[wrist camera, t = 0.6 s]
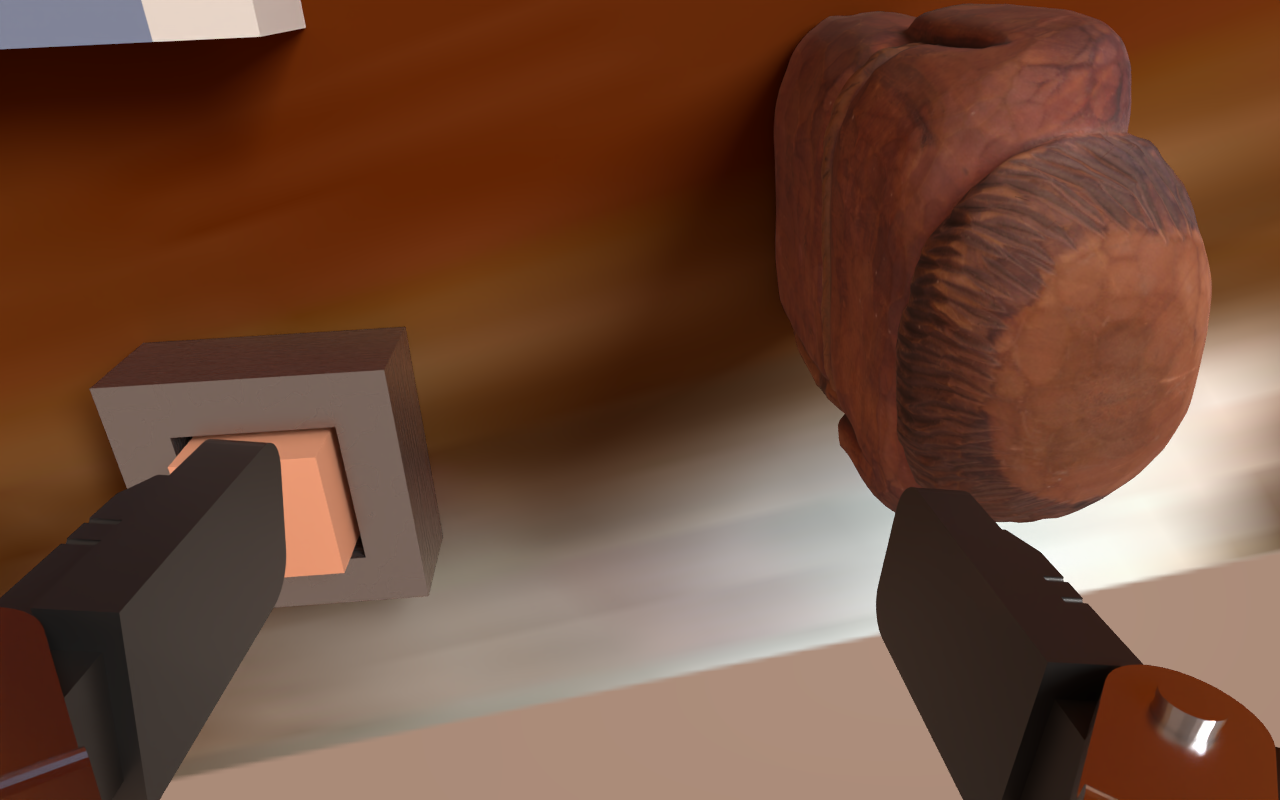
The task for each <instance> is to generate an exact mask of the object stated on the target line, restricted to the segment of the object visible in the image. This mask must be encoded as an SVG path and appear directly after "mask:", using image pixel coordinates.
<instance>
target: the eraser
mask: <svg viewBox="0 0 1280 800" xmlns="http://www.w3.org/2000/svg"><path fill="white" fill-rule="evenodd" d="M302 28H306V26H305V21H304V16H303V11H302V6H301V1H300V0H0V49H17V48H38V47H59V46H79V45H100V44H121V43H141V42H162V41H183V40H203V39H224V38H245V37H262V36H267V35H272V34H277V33H282V32H287V31H292V30H297V29H302Z"/></svg>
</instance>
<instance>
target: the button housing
mask: <svg viewBox="0 0 1280 800" xmlns="http://www.w3.org/2000/svg"><path fill="white" fill-rule="evenodd" d="M90 391H91V394H92V396H93V399H94V402H95V404H96V407H97V410H98V412H99V415H100V418H101V420H102V423H103V426H104V428H105V431H106V434H107V436H108V439H109V442H110V444H111V447H112V450H113V452H114V455H115V458H116V460H117V463H118V466H119V468H120V471H121V474H122V476H123V479H124V482H125V484H126V487H127V489H128V488H130V487H132V486H134V485H136V484H139V483H141V482H143V481H145V480H147V479H149V478H151V477H153V476H156V475H170V472H169V469H168V466H169V465H170V464H171V463H172V462H173V460H174V459H175V458H176V457H177V456H178V454H179V453H180V452H181V451H182V450H183V448H184V447H185V446H186V445H187V444H188V442H189V441H190V440H191V439H192V438H193V436H206V435H221V434H237V433H252V432H267V431H282V430H297V429H312V428H327V427H336V432H337V436H338V440H339V445H340V449H341V453H342V458H343V462H344V466H345V470H346V475H347V479H348V483H349V488H350V492H351V496H352V500H353V505H354V509H355V513H356V518H357V522H358V526H359V531H360V535H359V537H358V540H357V542H356V545H355V547H354V550H353V553H352V555H351V558H350V560H349V563H348V565H347V568H346V570H345V573H338V574H324V575H311V576H297V577H284V581H283V585H282V589H281V592H280V595H279V598H278V600H277V602H276V604H275V606H274V608H275V607H288V606H302V605H315V604H329V603H342V602H356V601H369V600H383V599H396V598H410V597H423V596H429V592H430V588H431V584H432V580H433V576H434V571H435V567H436V563H437V559H438V555H439V551H440V547H441V542H442V538H443V535H442V529H441V524H440V518H439V513H438V507H437V501H436V496H435V490H434V485H433V479H432V473H431V468H430V462H429V457H428V451H427V446H426V440H425V434H424V429H423V423H422V418H421V412H420V406H419V401H418V395H417V390H416V384H415V379H414V373H413V367H412V362H411V356H410V351H409V345H408V339H407V334H406V328H405V327H397V328H381V329H364V330H348V331H332V332H316V333H300V334H283V335H267V336H251V337H235V338H218V339H202V340H186V341H170V342H153V343H143V344H142V345H140V346H139V347H138V348H137V349H136V350H135V351H133V352H132V353H131V354H130V355H129V356H128V357H126V358H125V359H124V360H123V361H122V362H120V363H119V364H118V365H117V366H116V367H115V368H113V369H112V370H111V371H110V372H109V373H107V374H106V375H105V376H104V377H103V378H102V379H100V380H99V381H98V382H97V383H96V384H95V385H93V386H92V387H91V388H90Z"/></svg>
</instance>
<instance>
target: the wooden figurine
mask: <svg viewBox="0 0 1280 800" xmlns="http://www.w3.org/2000/svg"><path fill="white" fill-rule="evenodd" d="M1130 112H1131V66H1130V61H1129V57H1128V54H1127V51H1126V48H1125V45H1124V43H1123V41H1122V40H1121V38H1120V37H1119V36H1118V35H1117V34H1116V33H1115V32H1114V30H1113V29H1111V28H1110V27H1109V26H1108V25H1107V24H1105V23H1104V22H1102V21H1100V20H1098V19H1095V18H1092V17H1089V16H1086V15H1083V14H1080V13H1076V12H1074V11H1070V10H1064V9H1052V8H1043V7H1030V6H1020V5H1012V4H961V5H955V6H949V7H945V8H941V9H937V10H934V11H930V12H926V13H924V14H922V15H920V16H919V17H912V16H908V15H904V14H899V13H894V12H882V11H876V12H868V13H860V14H857V15H853V16H830V17H828V18H826V19H825V20H823V21H821V22H820V23H819V24H818V25H817V26H816V27H814V28H813V29H812V30H811V31H810V32H808V33H807V34H806V35H805V36H804V38H803V39H802V40H801V41H800V43H799V44H798V45H797V47H796V48H795V50H794V52H793V54H792V56H791V58H790V61H789V64H788V67H787V70H786V72H785V75H784V78H783V80H782V83H781V86H780V89H779V93H778V97H777V102H776V107H775V117H774V152H775V184H776V232H775V258H776V270H777V280H778V289H779V296H780V301H781V304H782V306H783V309H784V311H785V313H786V314H787V316H788V318H789V320H790V322H791V324H792V327H793V329H794V335H795V339H796V343H797V347H798V350H799V352H800V354H801V356H802V358H803V360H804V362H805V364H806V365H807V367H808V369H809V371H810V373H811V375H812V377H813V379H814V381H815V383H816V385H817V386H818V387H820V389H821V390H822V391H823V393H824V394H825V395H826V397H827V398H828V399H829V400H830V401H831V402H832V403H833V404H834V405H835V406H837V407H838V408H839V409H840V410H841V411H842V412H844V413H845V414H844V416H843V417H842V418H841V419H840V421H839V424H838V432H839V441H840V446H841V447H842V448H843V449H844V450H845V451H846V453H847V454H848V455H849V457H850V458H851V460H852V462H853V464H854V465H855V467H856V469H857V471H858V473H859V474H860V476H861V478H862V479H863V481H864V482H865V484H866V485H867V487H868V488H869V489H870V491H871V492H872V493H873V495H874V496H875V497H876V498H877V499H879V500H880V501H881V502H882V503H883V504H884V505H885V506H886V507H888V508H889V509H891V510H892V511H894V512H895V513H896V508H897V505H898V501H899V499H900V497H901V495H902V493H903V492H904V491H905V490H906V489H907V488H909V487H917V488H932V489H947V490H962V491H967V492H969V493H970V494H971V495H972V496H973V497H974V498H975V500H976V501H977V502H978V503H979V504H980V505H981V506H982V508H983V509H984V510H985V511H986V512H987V513H988V514H989V516H990V517H991V518H992V519H993V520H994V521H995V522H1017V523H1022V522H1034V521H1037V520H1041V519H1048V518H1059V517H1062V516H1065V515H1068V514H1071V513H1073V512H1076V511H1078V510H1080V509H1083V508H1085V507H1087V506H1089V505H1091V504H1093V503H1095V502H1097V501H1099V500H1101V499H1103V498H1104V497H1106V496H1107V495H1109V494H1110V493H1112V492H1113V491H1115V490H1116V489H1118V488H1119V487H1121V486H1122V485H1124V484H1125V483H1127V482H1128V481H1130V480H1131V479H1133V478H1134V477H1135V476H1136V475H1138V474H1139V473H1140V472H1141V471H1142V470H1143V469H1144V468H1145V467H1146V466H1147V465H1148V464H1149V463H1150V462H1151V461H1152V460H1153V459H1154V458H1155V457H1156V456H1157V455H1158V454H1159V453H1160V452H1161V451H1162V450H1163V449H1164V448H1165V446H1166V445H1167V443H1168V442H1169V441H1170V439H1171V437H1172V436H1173V434H1174V433H1175V431H1176V430H1177V428H1178V426H1179V425H1180V423H1181V421H1182V420H1183V418H1184V416H1185V414H1186V413H1187V411H1188V408H1189V405H1190V402H1191V399H1192V395H1193V392H1194V388H1195V384H1196V380H1197V376H1198V372H1199V367H1200V363H1201V359H1202V354H1203V350H1204V345H1205V340H1206V335H1207V328H1208V321H1209V314H1210V305H1211V287H1212V284H1211V274H1210V268H1209V262H1208V259H1207V255H1206V251H1205V247H1204V244H1203V240H1202V237H1201V235H1200V232H1199V229H1198V226H1197V221H1196V217H1195V213H1194V210H1193V207H1192V204H1191V201H1190V198H1189V196H1188V193H1187V191H1186V188H1185V186H1184V184H1183V182H1182V181H1181V180H1180V179H1179V178H1178V177H1177V175H1176V174H1175V173H1174V171H1173V170H1172V169H1171V167H1170V166H1169V165H1168V164H1167V163H1166V162H1165V161H1164V159H1163V158H1162V156H1161V154H1160V152H1159V151H1158V149H1157V148H1156V147H1155V146H1154V144H1153V143H1152V142H1151V141H1149V140H1146V139H1142V138H1138V137H1136V136H1133V135H1131V134H1129V133H1127V131H1128V125H1129V119H1130Z"/></svg>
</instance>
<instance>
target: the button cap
mask: <svg viewBox="0 0 1280 800" xmlns="http://www.w3.org/2000/svg"><path fill="white" fill-rule="evenodd" d="M208 439H221V440H236V441H251V442H266V443H273V444H274V445H275V446H276V447H277V449H278V452H279V456H280V462H281V475H282V491H283V507H284V523H285V539H286V569H285V576H284V577H297V576H311V575H324V574H338V573H345V570H346V568H347V565H348V563H349V560H350V558H351V555H352V553H353V550H354V547H355V545H356V542H357V540H358V537H359V535H360V531H359V526H358V522H357V518H356V513H355V509H354V505H353V500H352V496H351V492H350V488H349V483H348V479H347V475H346V470H345V466H344V462H343V458H342V453H341V449H340V445H339V440H338V436H337V432H336V427H327V428H312V429H297V430H282V431H267V432H252V433H237V434H221V435H206V436H193V438H192V439H191V440H190V441H189V442H188V444H187V445H186V446H185V447H184V448H183V450H182V451H181V452H180V453H179V454H178V456H177V457H176V458H175V459H174V460H173V462H172V463H171V464H170V465H169V466H168V469H169V472H170V474H171V473H172V472H173V471H174V470H175V469H176V468H177V467H178V466H179V465H180V464H181V463H182V462H183V461H184V460H185V459H186V458H187V457H188V456H189V455H191V454H192V453H193V452H194V451H195V450H196V449H197V448H198V447H199V446H200V445H201V444H202V443H203V442H204V441H206V440H208Z"/></svg>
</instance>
